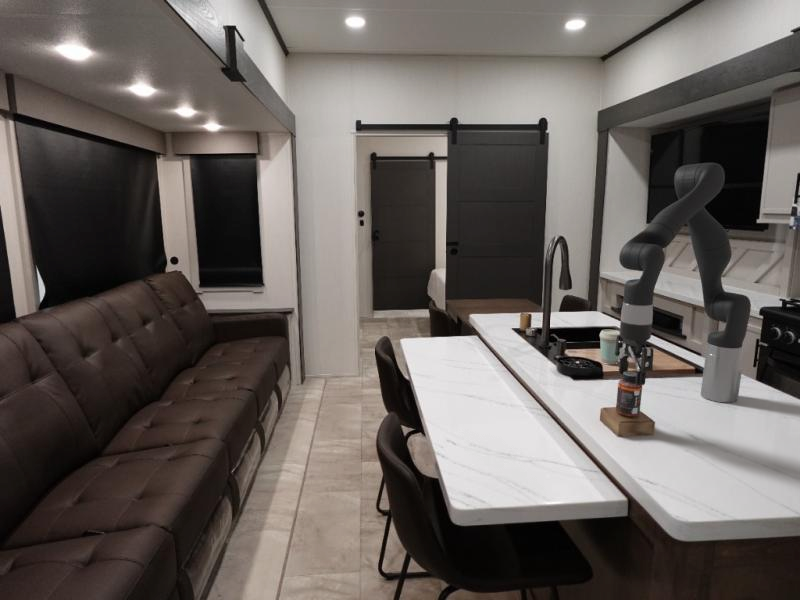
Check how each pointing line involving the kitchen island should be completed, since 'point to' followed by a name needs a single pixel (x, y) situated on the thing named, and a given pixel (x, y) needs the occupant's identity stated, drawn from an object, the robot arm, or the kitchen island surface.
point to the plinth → (626, 423)
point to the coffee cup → (608, 346)
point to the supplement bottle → (628, 395)
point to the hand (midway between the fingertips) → (631, 378)
